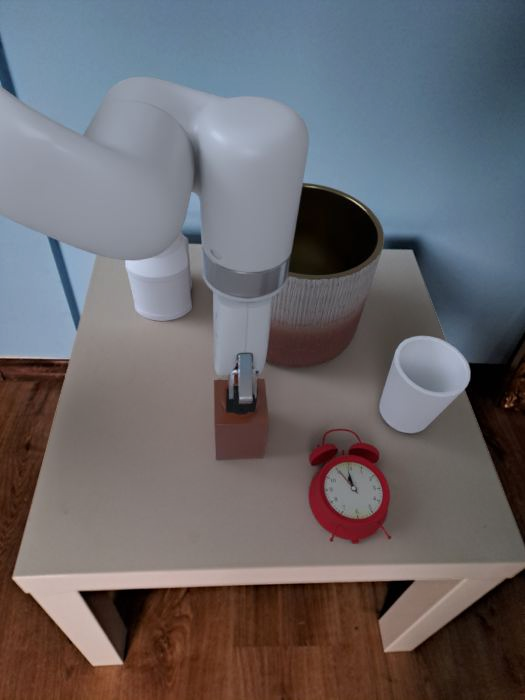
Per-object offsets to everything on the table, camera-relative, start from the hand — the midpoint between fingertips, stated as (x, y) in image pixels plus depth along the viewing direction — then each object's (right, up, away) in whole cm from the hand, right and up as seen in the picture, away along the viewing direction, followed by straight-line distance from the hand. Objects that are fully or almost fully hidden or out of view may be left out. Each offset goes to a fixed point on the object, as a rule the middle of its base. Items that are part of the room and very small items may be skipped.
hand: (238, 373), depth 53 cm
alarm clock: (+14, -16, +9) cm, 23 cm away
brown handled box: (-1, -9, +13) cm, 16 cm away
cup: (+24, -7, +17) cm, 30 cm away
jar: (-15, +12, +29) cm, 34 cm away
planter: (+8, +8, +27) cm, 29 cm away
